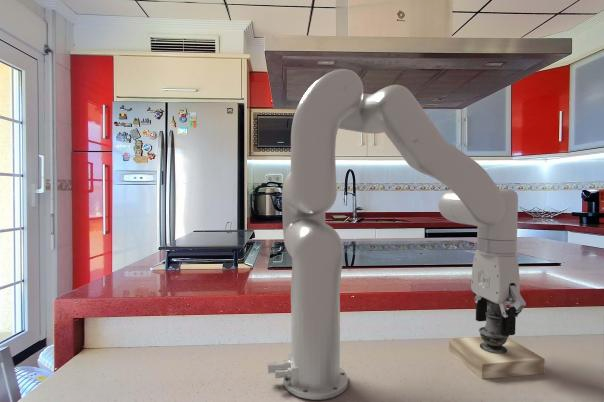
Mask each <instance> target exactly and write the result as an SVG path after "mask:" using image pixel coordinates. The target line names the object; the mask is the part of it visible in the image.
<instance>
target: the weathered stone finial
mask: <svg viewBox="0 0 604 402" xmlns="http://www.w3.org/2000/svg"><path fill="white" fill-rule="evenodd" d="M485 315H486V321H485V322H486V323H485V326H481V327H479V328H478V333H479V335H480V337H481V338H482V340H483V341H484V342H483V343H481V344H480V348H481V349H483V350H485V351H487V352H490V353H494V354H504V353H506V352H507V349H506V348H505V347H504V346H502V345H503V344H505V343H506V341H507V338H510V335H509V336H502V335H500V333H499V330H500V316H503V315H502V312H501V309H500V305H499V304H496V303H493V302H491V301H489V300H488V301H487V312H486V313H485Z"/></svg>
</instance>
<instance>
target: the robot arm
mask: <svg viewBox="0 0 604 402" xmlns="http://www.w3.org/2000/svg"><path fill="white" fill-rule="evenodd" d="M291 123H292V124H291V131H290V172H289V173H288V174H287V176H286V177H285V179H284V180H283V185H282V190H281V191H282V192H281V207H282V208H281V209H282V214H281V215H282V231H283V232H282V234H283V243H284V244H283V245H284V247H285V249H286V251H287V253H288V255H289V256H291V258H292V260H291V262H292V263H291V264H292V265H291V266H292V268H291V281H290V313H291V314H290V323H291V325H290V327H291V328H290V329H291V331H290V333H291V334H290V341H291V342H290V348H291V349H290V350H291V351H290V354H288V355H287V356H288V358H287V359H285V360H283V362H282V361H281V362H280V361H279V362H277V361H275V362H267V374H274V378H275V379H282V380H283V381H282V383H283V386H284V388H285V389H286V390H287V391H288V392H289V393H290V394H292V395H294V396H296V397H298V398H302V399H305V400H312V401H313V400H316V401H318V400H320V401H321V400H327V399H331V398H334V397H337V396H339V395H341V394H342V393H343V392H345V391H346V389H347V387H348V384H349V377H348V374H347V372H346V371H345V370H344V369H343V368H341V366H340V365H341V350H340V349H341V277H342V270H343V269H342V268H343V265H344V264H343V262H344V245H343V241H342V239H341V237H340V235H339V233H338V232H337V231H336V229H334V227H333V226H330V225H329V224H327V222H326V212H328V211H330V210H331V208H332V207H334V206H333V205H334V204H335V202H336V199H337V194H338V193H337V171H336V170H337V169H336V168H337V167H336V146H337V145H336V143H337V142H336V141H337V134H338V131H339V130H343V131H344V130H346V131H350V132H358V133H365V134H383V133H384V134H385V135H386V137H387V138H388V139H389V140H390V142H391V143H392V145H394V147H395V148H396V149H397V151H398V152H399V154H400V155H401V156H402V158H403V159H404V161H405V162H406V164H408V165H409V167H410V168H412V169H414V170H416V171H417V172H419V173H421V174H422V175H426V176H429V178H432V179H435V180H437V181H439V182H440V183H442V184H443V185H444V186H446V187H447V188H449V190H447V191H445V192H444V193H443V194H441V196H440V198H439V201H438V210H439V213H440V214H441V216H442V217H443V218H445V219H446V220H447V221H449V222H452V223H457V224H460V225H469V226H474V227H477V231H476V232H477V235H476V236H477V239H476V240H477V241H476V250H475V253H474V256H473V262H472V269H471V270H472V271H471V279H470V282H469V284H470V288H471V291H472V293H473V296H474V300H473V301H474V303H475V321H476V322H486V315H485V313H486V312H487V301H488V300H489V301H491V302H493V303H496V304H499V305H500V309H501V312H502V315H503V316H500V330H499V333H500V335H502V336H509V337H510V336H515V335H516V324H517V323H516V319H517V317H518V316H519V314H520V313H521V312H522V310H523V309H524V308H525V307H526V305H527V303H526V301H525V300H524V298H523V297H522V295H521V293H520V291H521V285H520V284H521V282H520V281H521V280H520V267H519V260H518V256H517V249H518V247H517V246H518V210H519V195H518V193H517V192H516V190H513V189H506V188H501V189H500V188H499V187H498V185H497V184H496V183H495V182H494V179H492V177H491V176H490V175H489V173H488V172H487V171H486V170H485V168H483V167H482V166H481V165H480V164H479V163H478V162H477V161H475V160H474V159H473V158H472V157H471V156H468V154H466V153H465V152H463V151H462V150H460V149H459V148H458V147H456V146H455V145H453V144H451V143H450V142H448V141H447V140H446V139H445V137H444V136H443V135H442V134H441V133H442V132H440V131H439V129H438V128H437V127H436V125H435V124H434V122H433V121H432V119H431V118H430V117H429V115H428V114H427V112H426V110H425V109H424V108H423V107H422V105H421V104H420V103H419V101H418V100H417V98H416V97H415V96H414V94H413V93H412V92H411V90H409V88H407V87H406V86H404V85H402V84H401V85H400V84H391V85H388V86H385V87H383V88H381V89H379V90H378V91H376V92H374V93H364V84H363V82H362V79H361V77H360V76H359V75H358V74H357V72H355V71H353V70H352V69H347V68H339V69H334V70H331V71H330V72H327V73H326V74H324V75H323V76H321V77H320V78H318V79H317V80H316V81H315V82H313V84H311V85H310V86H309V87H308V89H306V92H305V93H304V94H303V96H302V97H301V99H300V100H299V103H298V104H297V108H296V109H295V112H294V115H293V119H292V122H291ZM507 305H508V306H509V308H508V309H507Z"/></svg>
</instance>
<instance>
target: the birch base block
mask: <svg viewBox="0 0 604 402" xmlns="http://www.w3.org/2000/svg"><path fill="white" fill-rule="evenodd" d="M483 342H484V341H483V340H482V338H481V336H472V337H470V336H469V337H458V338H456V337H455V338H449V339H448V352H449V353H450V354H451V356H454V357H455V358H456V359H457V360H458V361H460V362H461V363H462V364H463V365H465V366H466V367H467V368H468V369H469V370H471V371H472V372H473V373H474V374H476V376H478V377H479V378H480V379H482V380H483V379H485V380H486V379H495V378H507V377H516V376H517V377H518V376H528V375H529V376H530V375H538V374H539V375H540V374H545V366H546V365H545V363H546V362H545V358H544V357H542V356H540V355H539V354H537V353H536V352H534V351H532V350H531V349H529V348H527V347H526V346H523V345H522V344H520V343H519V342H518V341H517V342H516V341H515V340H513V339H511V337H508V338H507V341H506V343H505V344H503V345H502V346H504V347H505V348H506V349H507V352H506V353H504V354H494V353H490V352H487V351H485V350H483V349H481V348H480V344H481V343H483Z"/></svg>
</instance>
